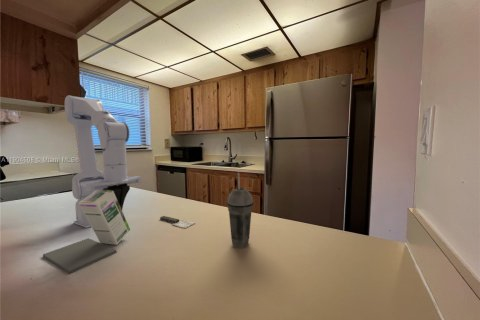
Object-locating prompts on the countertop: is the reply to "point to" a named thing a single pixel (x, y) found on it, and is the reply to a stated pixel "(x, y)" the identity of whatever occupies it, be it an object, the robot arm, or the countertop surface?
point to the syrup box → (105, 216)
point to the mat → (79, 254)
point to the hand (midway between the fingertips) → (117, 210)
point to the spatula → (178, 222)
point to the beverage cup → (240, 215)
